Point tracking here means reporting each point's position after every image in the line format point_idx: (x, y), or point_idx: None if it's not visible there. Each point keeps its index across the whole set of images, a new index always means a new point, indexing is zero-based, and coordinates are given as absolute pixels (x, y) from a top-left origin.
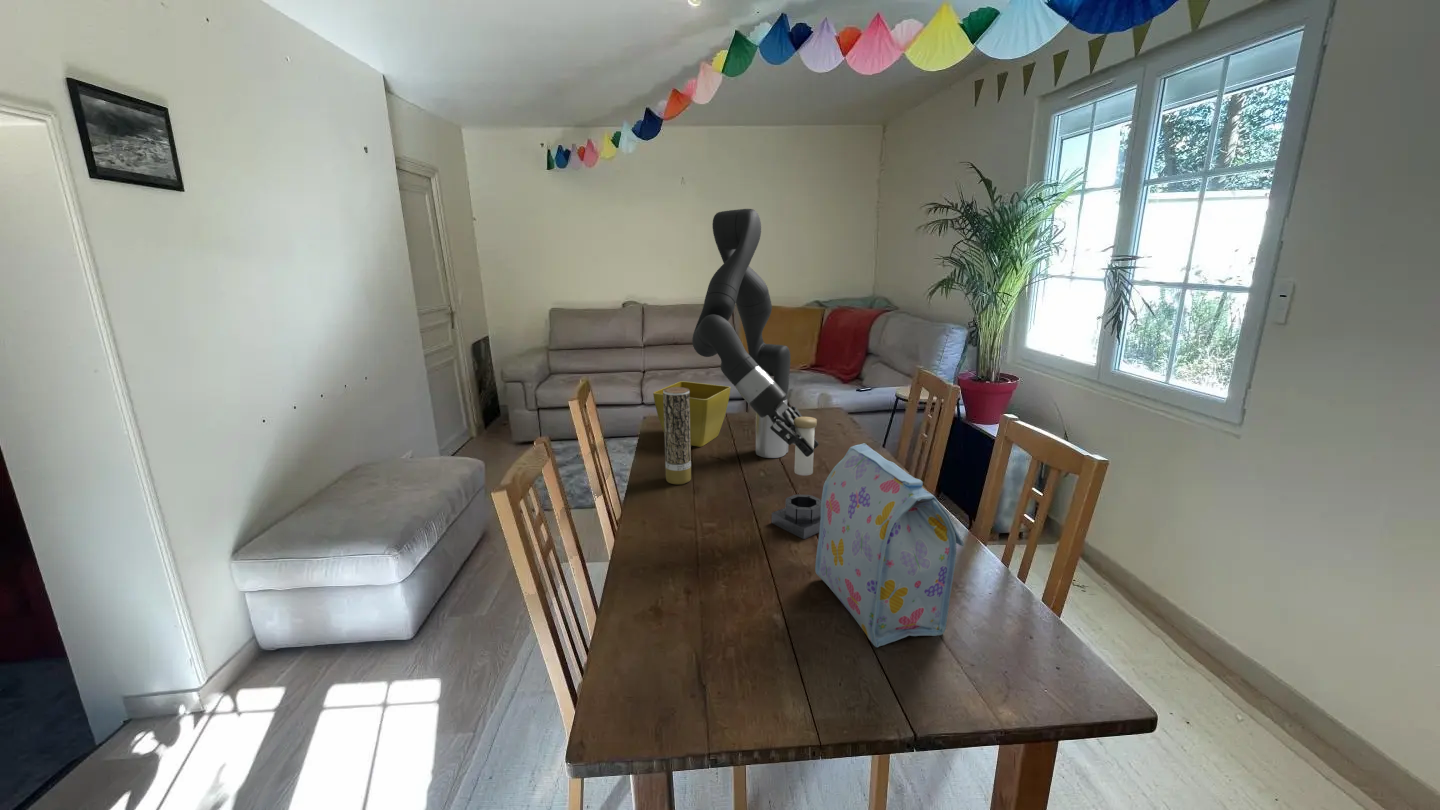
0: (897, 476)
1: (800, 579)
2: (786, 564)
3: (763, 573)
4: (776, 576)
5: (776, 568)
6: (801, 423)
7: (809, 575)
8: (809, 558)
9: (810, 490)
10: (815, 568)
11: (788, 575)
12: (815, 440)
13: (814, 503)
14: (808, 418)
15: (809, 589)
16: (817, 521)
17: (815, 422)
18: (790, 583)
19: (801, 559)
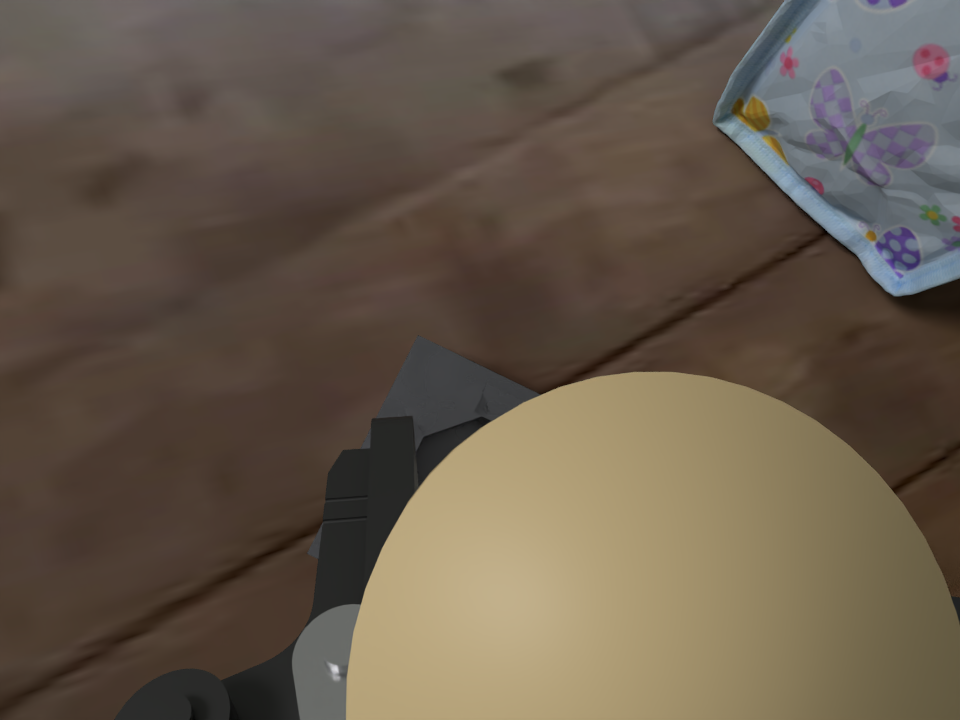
0: None
1: (909, 352)
2: (839, 437)
3: (944, 498)
4: (937, 443)
5: (886, 464)
6: (946, 687)
7: (868, 330)
8: (752, 366)
9: (15, 592)
10: (920, 291)
11: (908, 403)
12: (403, 455)
13: (418, 447)
14: (519, 648)
15: (951, 303)
16: (522, 399)
17: (703, 379)
18: (952, 378)
19: (775, 394)
